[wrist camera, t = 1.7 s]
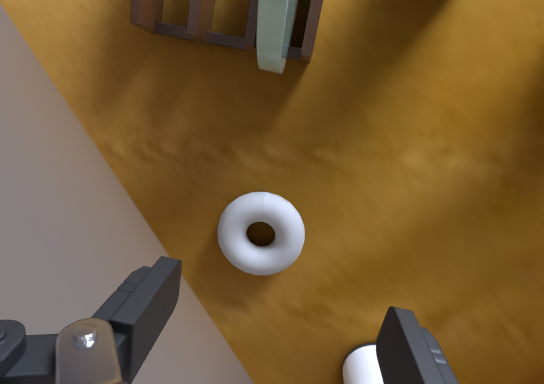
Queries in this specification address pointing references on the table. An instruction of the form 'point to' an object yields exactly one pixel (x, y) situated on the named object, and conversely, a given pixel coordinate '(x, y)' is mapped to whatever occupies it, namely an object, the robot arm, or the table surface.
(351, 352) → the mug
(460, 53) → the table surface
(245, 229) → the donut
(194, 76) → the table surface
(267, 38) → the plate
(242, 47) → the rack
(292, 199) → the table surface
